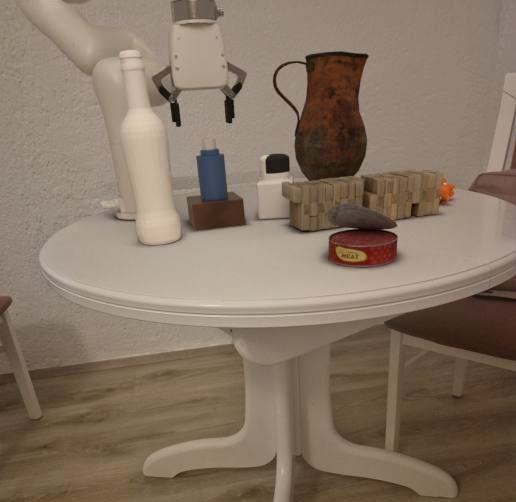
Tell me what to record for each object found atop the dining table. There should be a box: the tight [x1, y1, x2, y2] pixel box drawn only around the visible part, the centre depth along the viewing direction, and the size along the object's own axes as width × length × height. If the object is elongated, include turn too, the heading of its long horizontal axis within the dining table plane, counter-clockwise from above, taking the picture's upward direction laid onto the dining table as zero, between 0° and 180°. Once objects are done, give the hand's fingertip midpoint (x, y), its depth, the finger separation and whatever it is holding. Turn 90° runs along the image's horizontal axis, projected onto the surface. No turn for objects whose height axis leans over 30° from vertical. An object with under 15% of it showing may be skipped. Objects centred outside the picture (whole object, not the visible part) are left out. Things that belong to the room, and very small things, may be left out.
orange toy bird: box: [440, 177, 456, 202], centre depth 102 cm, size 5×8×12 cm
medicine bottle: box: [256, 153, 295, 220], centre depth 98 cm, size 7×7×12 cm
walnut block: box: [186, 191, 246, 232], centre depth 98 cm, size 10×10×5 cm
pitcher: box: [272, 50, 370, 181], centre depth 111 cm, size 17×21×30 cm
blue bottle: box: [195, 137, 229, 200], centre depth 94 cm, size 5×5×11 cm
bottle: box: [119, 50, 182, 246], centre depth 82 cm, size 8×8×30 cm
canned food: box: [327, 203, 399, 268], centre depth 70 cm, size 11×10×10 cm
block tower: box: [282, 168, 444, 232], centre depth 91 cm, size 8×8×29 cm
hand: (204, 124), depth 91 cm, fingers open, 9 cm apart
